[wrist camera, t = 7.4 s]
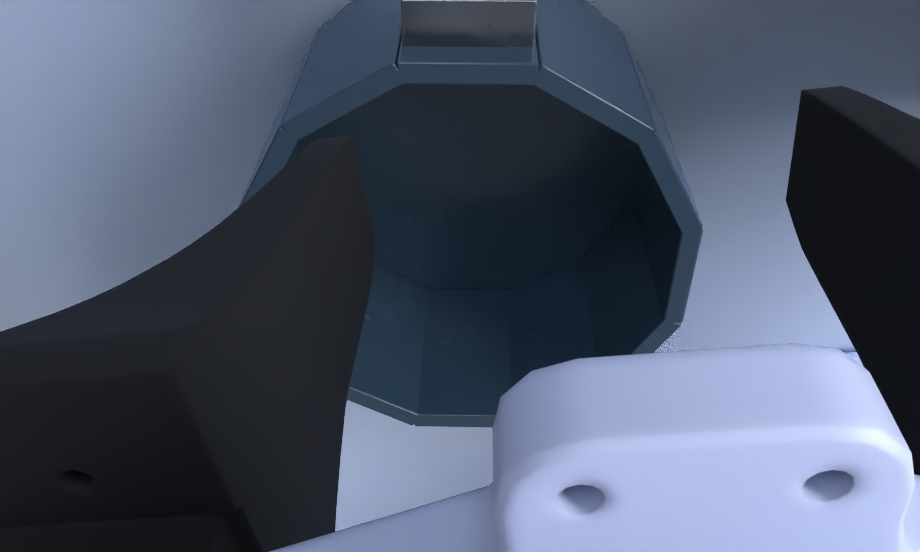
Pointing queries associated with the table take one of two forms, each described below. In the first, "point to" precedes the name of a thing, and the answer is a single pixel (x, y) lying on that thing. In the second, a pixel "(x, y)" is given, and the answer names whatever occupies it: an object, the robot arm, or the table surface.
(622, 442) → the robot arm
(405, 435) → the table surface
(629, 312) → the saucepan
